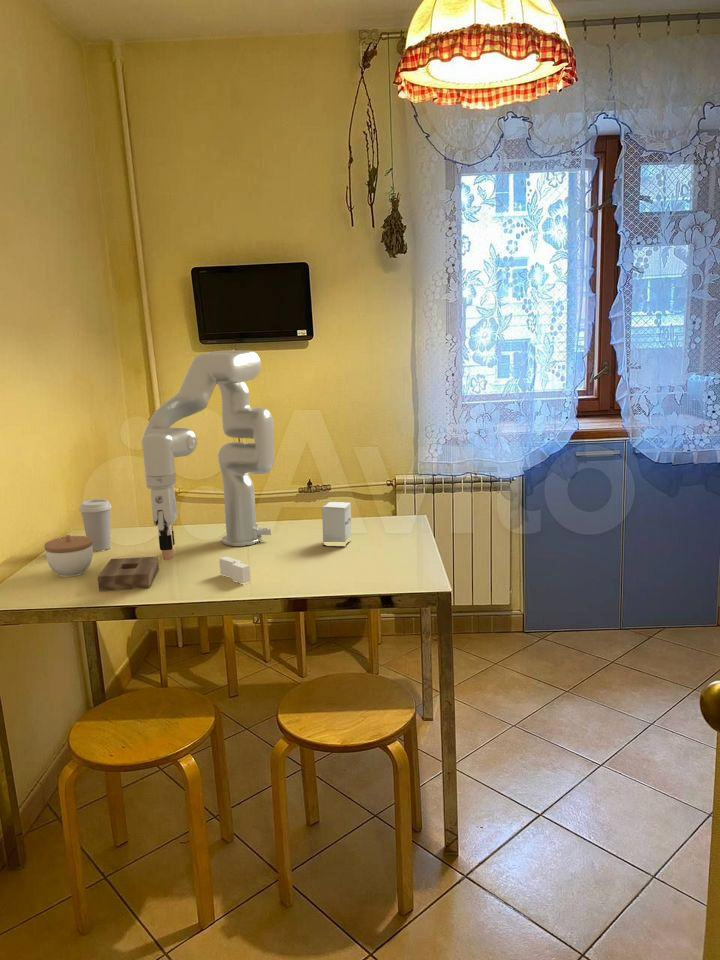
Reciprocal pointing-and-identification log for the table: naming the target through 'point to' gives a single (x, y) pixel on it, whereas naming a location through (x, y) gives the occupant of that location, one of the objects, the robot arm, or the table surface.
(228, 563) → the napkin holder
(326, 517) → the supplement box
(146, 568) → the hole block
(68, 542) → the lidded bowl
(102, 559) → the table surface
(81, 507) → the coffee cup
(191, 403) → the robot arm
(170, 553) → the peg
